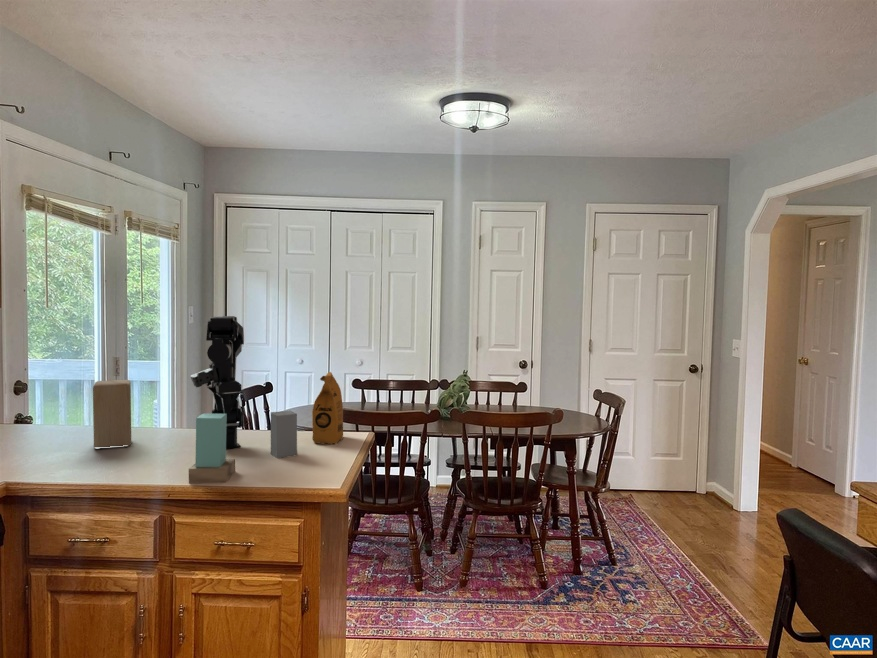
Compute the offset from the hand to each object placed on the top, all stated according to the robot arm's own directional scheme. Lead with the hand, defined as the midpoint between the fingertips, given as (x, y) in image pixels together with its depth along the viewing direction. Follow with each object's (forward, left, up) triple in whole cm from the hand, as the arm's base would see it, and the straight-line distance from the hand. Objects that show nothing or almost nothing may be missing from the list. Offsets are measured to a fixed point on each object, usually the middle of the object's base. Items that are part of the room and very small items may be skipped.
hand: (223, 413), depth 167 cm
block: (-32, -26, -13) cm, 43 cm away
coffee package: (-4, +34, -13) cm, 37 cm away
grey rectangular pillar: (+6, +16, -13) cm, 21 cm away
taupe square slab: (+18, -7, -13) cm, 24 cm away
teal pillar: (+19, -7, -9) cm, 22 cm away
